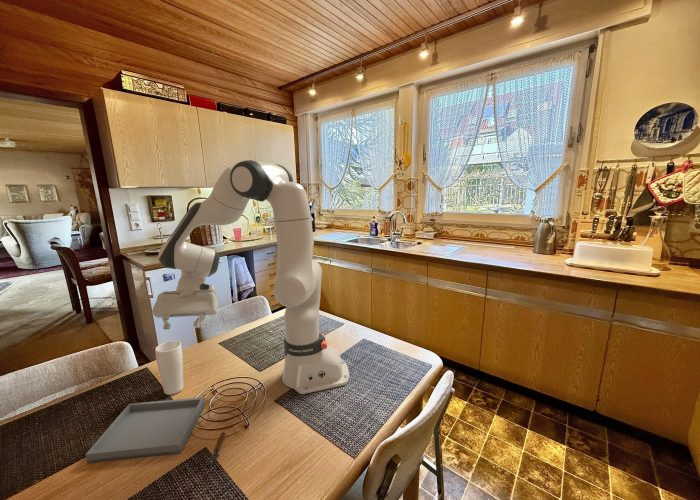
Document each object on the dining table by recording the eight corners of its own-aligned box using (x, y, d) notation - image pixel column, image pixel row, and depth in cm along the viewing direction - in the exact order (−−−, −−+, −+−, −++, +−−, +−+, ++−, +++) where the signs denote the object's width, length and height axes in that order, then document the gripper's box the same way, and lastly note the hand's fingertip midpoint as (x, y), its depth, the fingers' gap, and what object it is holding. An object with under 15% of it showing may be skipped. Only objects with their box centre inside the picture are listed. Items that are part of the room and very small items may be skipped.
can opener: (221, 435, 73) (221, 431, 73) (230, 435, 73) (230, 431, 73) (203, 469, 64) (202, 464, 64) (213, 469, 64) (213, 464, 64)
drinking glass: (174, 398, 85) (168, 353, 82) (155, 395, 87) (149, 350, 84) (191, 384, 92) (186, 341, 89) (173, 381, 93) (167, 339, 90)
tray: (205, 404, 83) (204, 397, 82) (181, 453, 67) (179, 444, 67) (130, 411, 80) (129, 403, 80) (87, 463, 65) (85, 454, 64)
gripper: (155, 287, 99) (142, 326, 91) (217, 285, 101) (210, 323, 94) (163, 295, 104) (152, 333, 96) (222, 293, 106) (215, 329, 99)
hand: (181, 328), depth 95 cm, fingers open, 8 cm apart
